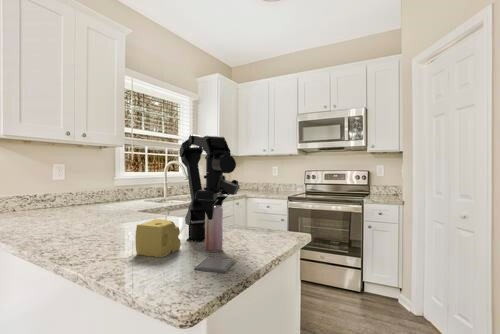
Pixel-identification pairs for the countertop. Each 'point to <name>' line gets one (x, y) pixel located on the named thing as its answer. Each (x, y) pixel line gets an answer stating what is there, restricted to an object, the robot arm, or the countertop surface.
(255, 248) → the countertop surface
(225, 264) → the slate coaster
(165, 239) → the cheese
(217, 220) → the beverage can
